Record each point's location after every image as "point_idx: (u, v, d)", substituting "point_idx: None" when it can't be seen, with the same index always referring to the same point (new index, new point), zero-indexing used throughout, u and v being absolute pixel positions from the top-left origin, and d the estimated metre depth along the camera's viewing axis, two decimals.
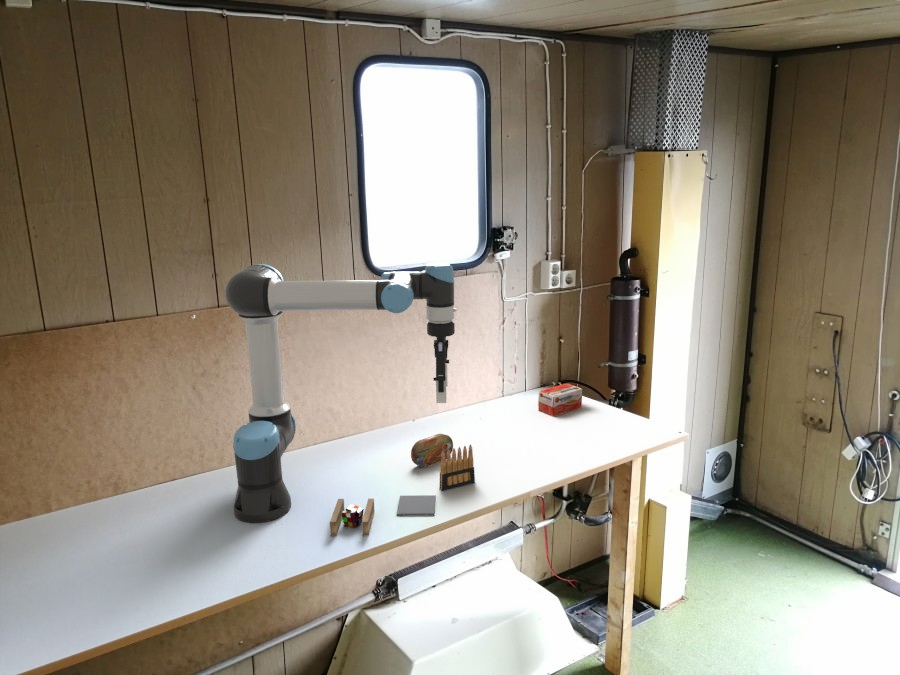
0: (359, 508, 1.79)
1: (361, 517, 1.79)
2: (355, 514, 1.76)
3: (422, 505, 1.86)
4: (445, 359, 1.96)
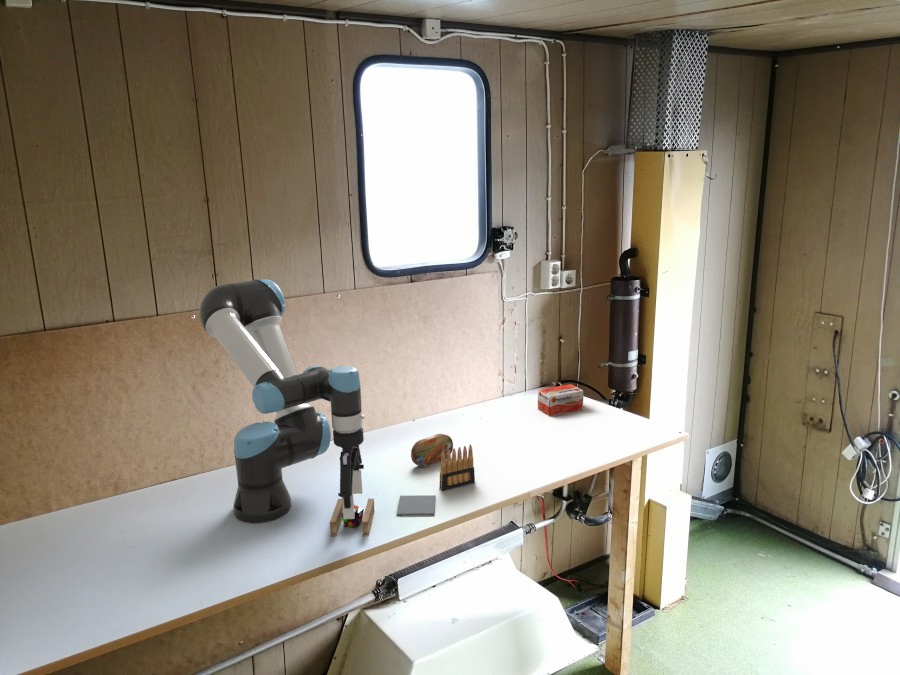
0: (359, 508, 1.79)
1: (361, 517, 1.79)
2: (355, 514, 1.76)
3: (422, 505, 1.86)
4: (358, 465, 1.81)
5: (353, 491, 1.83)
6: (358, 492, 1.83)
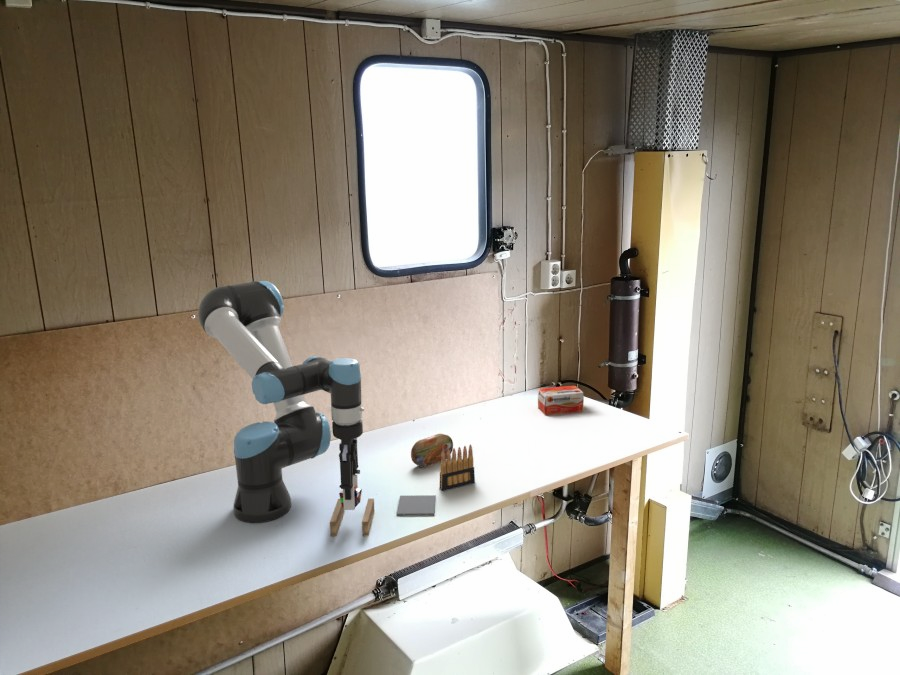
0: (357, 489, 1.78)
1: (359, 498, 1.78)
2: None
3: (422, 505, 1.86)
4: (354, 467, 1.78)
5: None
6: None
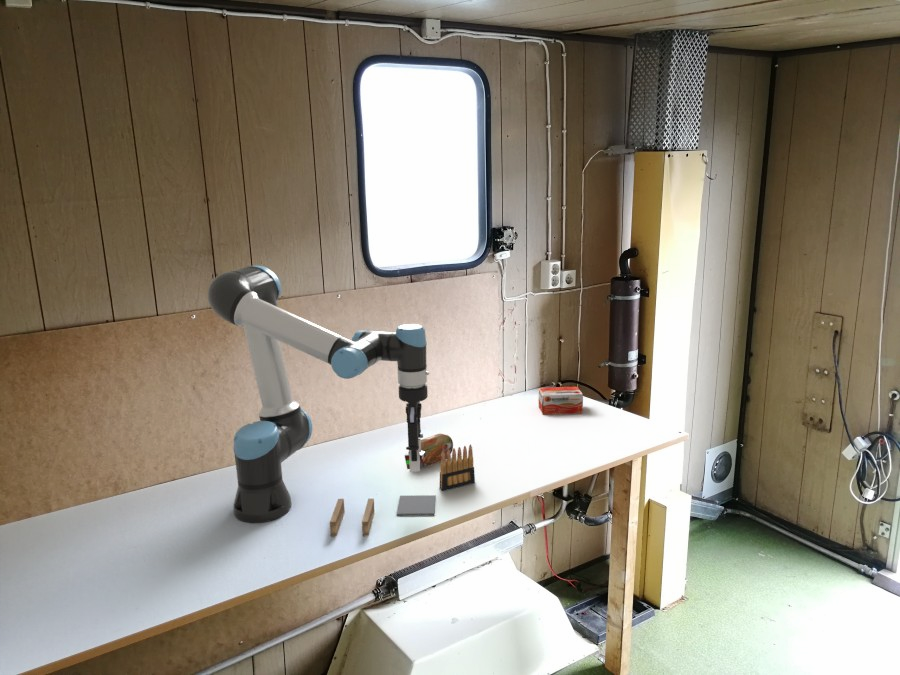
0: (421, 451, 1.84)
1: (423, 460, 1.84)
2: None
3: (422, 505, 1.86)
4: (418, 431, 1.85)
5: None
6: None
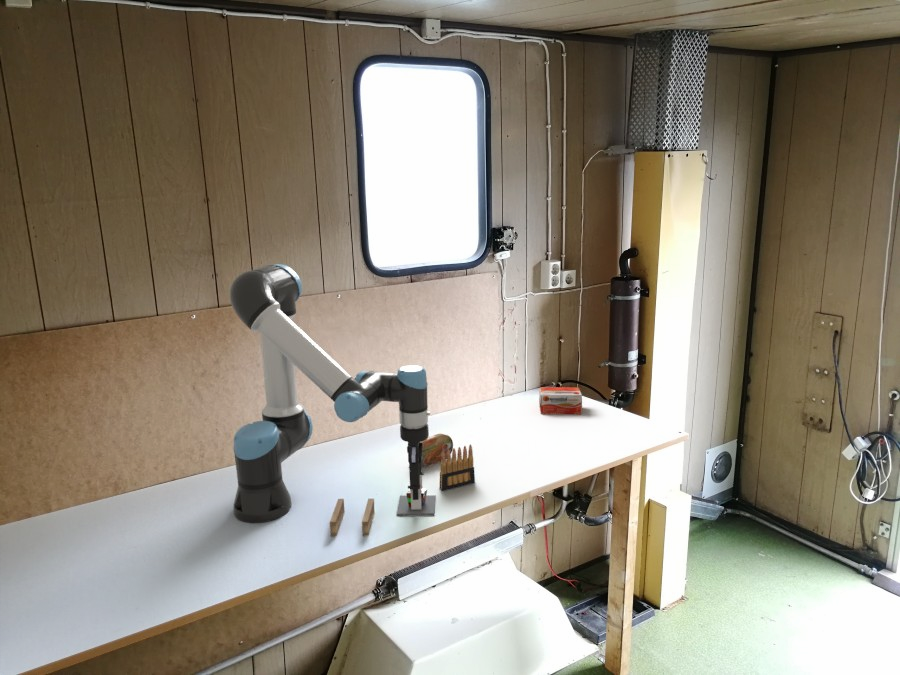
0: (423, 489, 1.87)
1: (424, 498, 1.87)
2: None
3: None
4: (420, 468, 1.87)
5: None
6: None
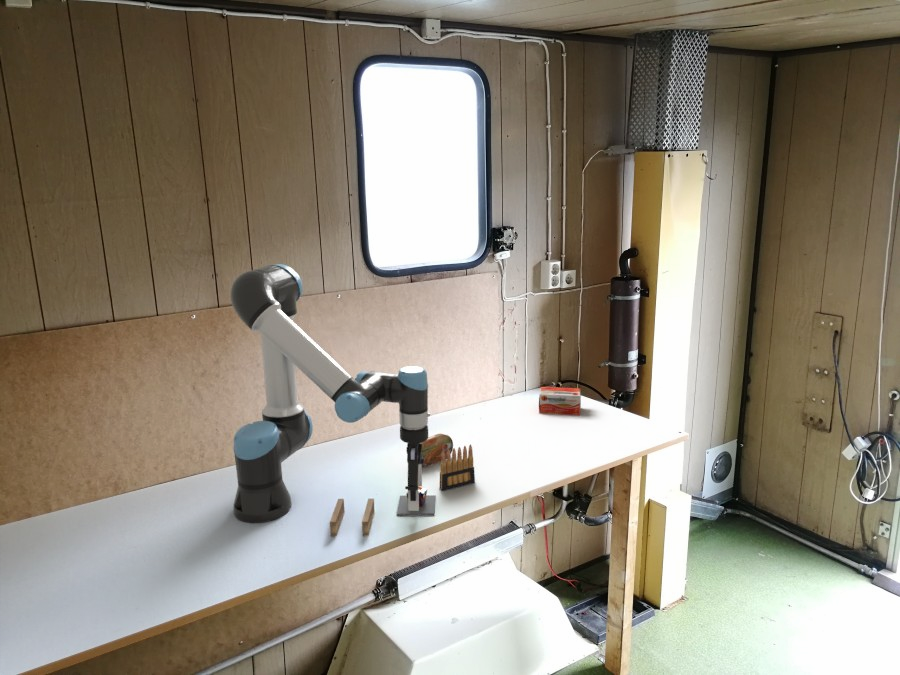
0: (423, 489, 1.87)
1: (424, 498, 1.87)
2: (420, 494, 1.84)
3: None
4: (419, 460, 1.90)
5: None
6: (418, 485, 1.93)
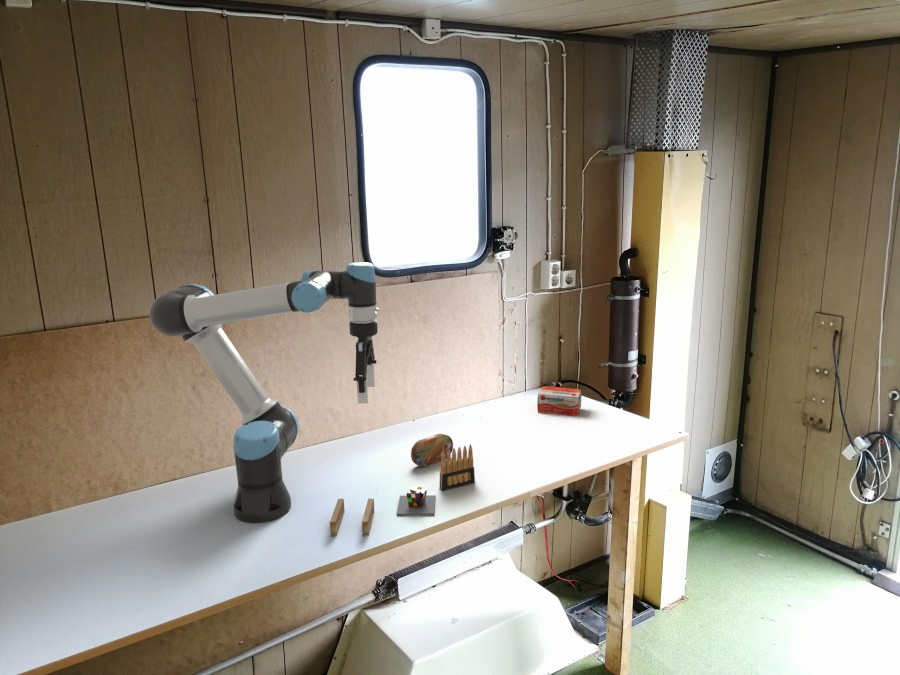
0: (423, 489, 1.87)
1: (424, 498, 1.87)
2: (420, 494, 1.84)
3: None
4: (371, 359, 1.94)
5: (366, 384, 1.97)
6: (371, 385, 1.97)
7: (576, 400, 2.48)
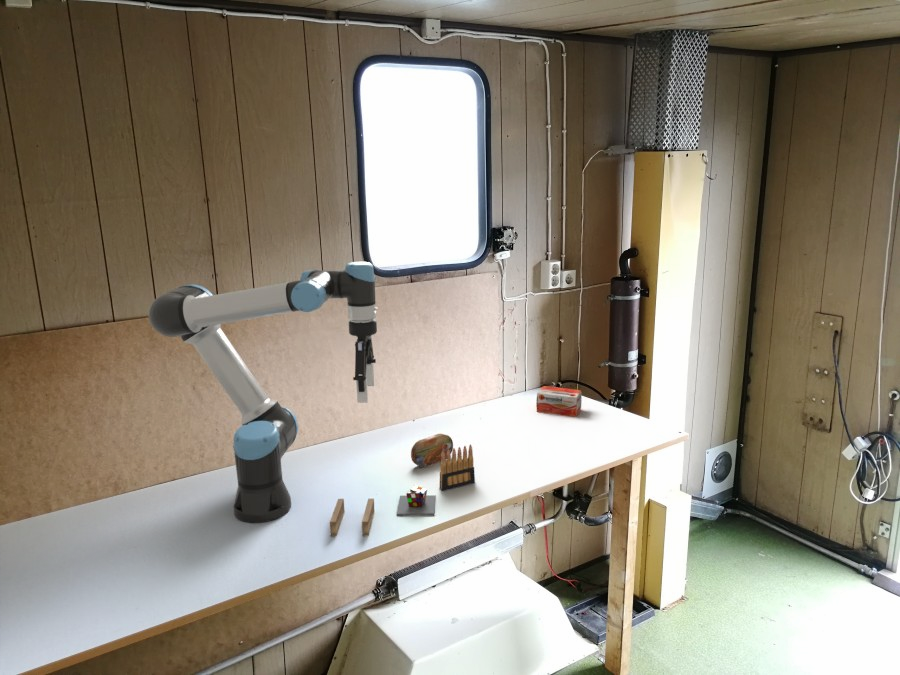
0: (423, 489, 1.87)
1: (424, 498, 1.87)
2: (420, 494, 1.84)
3: None
4: (370, 358, 1.95)
5: None
6: (370, 385, 1.97)
7: (574, 401, 2.47)
